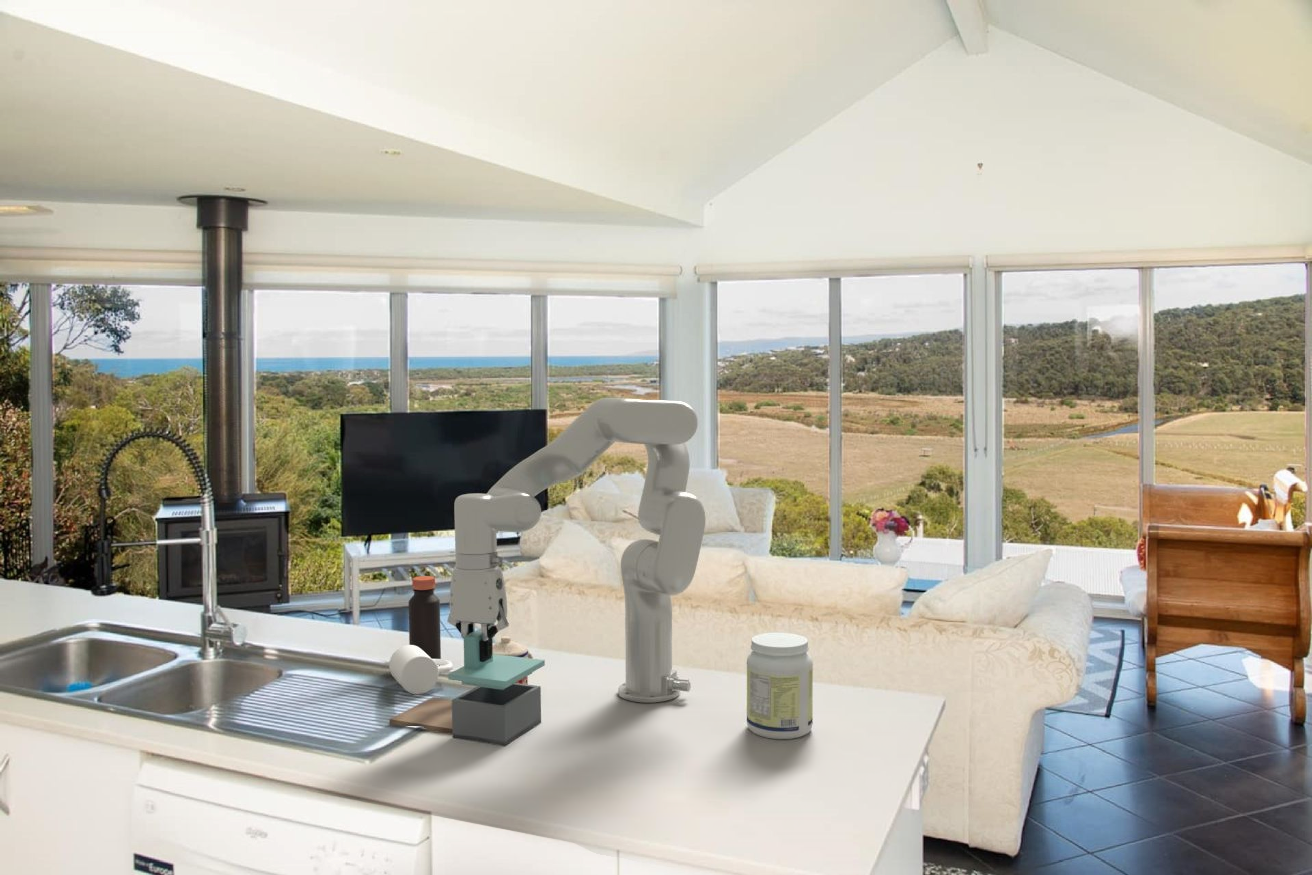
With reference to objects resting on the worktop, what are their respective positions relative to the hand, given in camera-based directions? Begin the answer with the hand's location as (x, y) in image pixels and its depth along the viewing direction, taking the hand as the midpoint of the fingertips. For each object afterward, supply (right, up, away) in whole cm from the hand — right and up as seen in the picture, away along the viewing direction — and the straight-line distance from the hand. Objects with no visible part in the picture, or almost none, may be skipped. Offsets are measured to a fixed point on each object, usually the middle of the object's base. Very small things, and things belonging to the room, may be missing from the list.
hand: (478, 658), depth 195 cm
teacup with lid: (+3, -12, +22) cm, 25 cm away
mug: (-16, -12, +26) cm, 33 cm away
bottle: (-19, -10, +40) cm, 45 cm away
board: (-8, -13, +6) cm, 16 cm away
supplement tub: (+56, -13, -1) cm, 57 cm away
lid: (+4, -3, -1) cm, 5 cm away
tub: (+4, -13, -1) cm, 14 cm away
